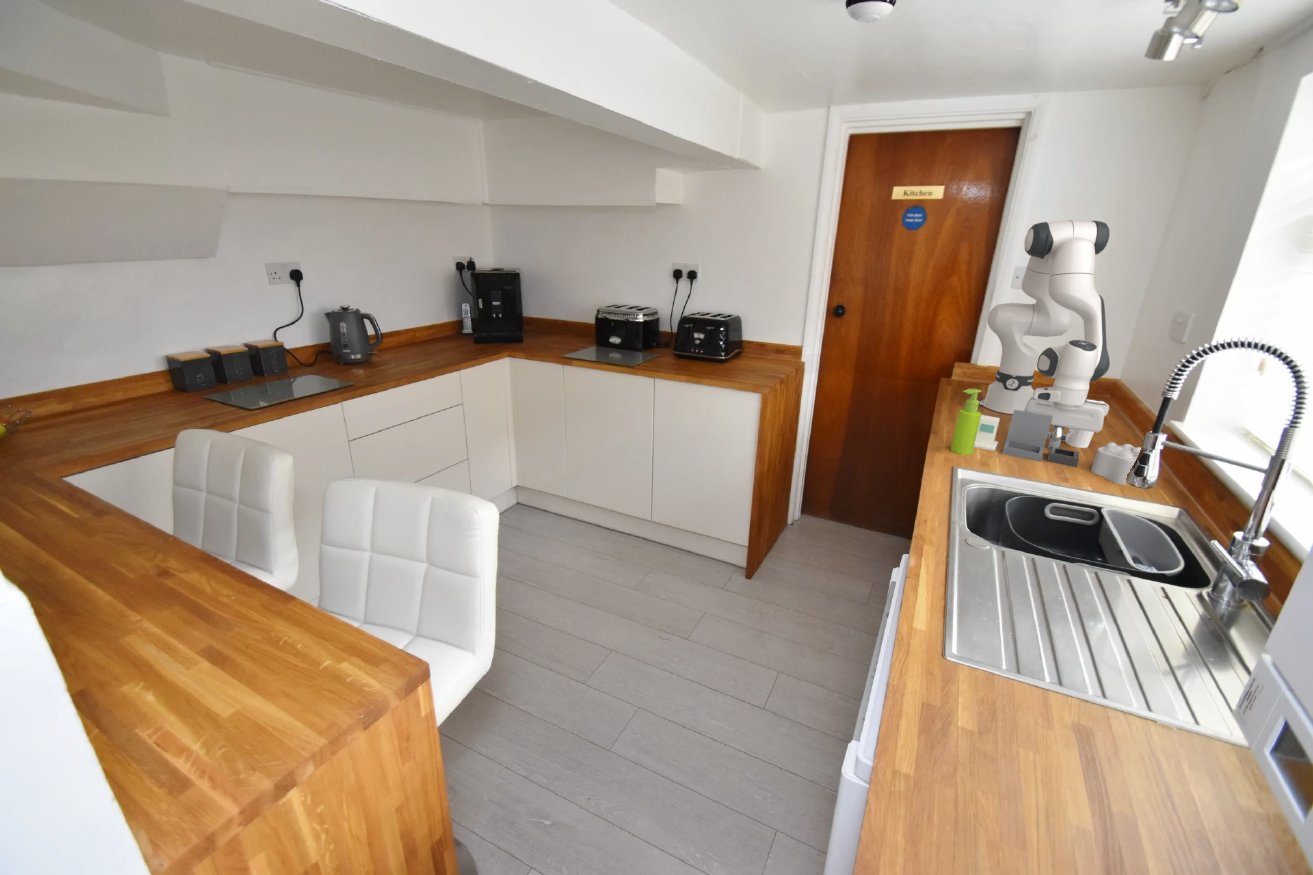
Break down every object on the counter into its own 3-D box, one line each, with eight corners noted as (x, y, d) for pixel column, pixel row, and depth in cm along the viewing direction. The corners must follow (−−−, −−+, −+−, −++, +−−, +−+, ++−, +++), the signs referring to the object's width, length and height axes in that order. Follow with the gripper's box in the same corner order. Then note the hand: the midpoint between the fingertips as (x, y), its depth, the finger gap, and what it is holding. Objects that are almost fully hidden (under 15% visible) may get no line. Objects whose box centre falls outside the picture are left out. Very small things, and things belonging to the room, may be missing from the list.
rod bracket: (1047, 455, 172) (1050, 446, 171) (1076, 461, 169) (1078, 451, 168) (1046, 463, 167) (1049, 453, 166) (1075, 468, 163) (1078, 459, 162)
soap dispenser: (943, 451, 174) (957, 387, 167) (959, 448, 177) (973, 385, 170) (959, 458, 169) (974, 393, 162) (976, 455, 172) (991, 391, 165)
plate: (972, 440, 184) (973, 436, 183) (997, 445, 180) (998, 441, 180) (968, 447, 178) (969, 443, 177) (994, 452, 174) (995, 449, 173)
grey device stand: (1004, 445, 180) (1014, 409, 175) (1042, 453, 174) (1052, 415, 170) (1001, 455, 172) (1011, 417, 168) (1040, 463, 167) (1051, 424, 162)
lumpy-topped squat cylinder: (1084, 472, 161) (1093, 443, 158) (1111, 465, 167) (1120, 437, 164) (1125, 487, 153) (1135, 457, 150) (1152, 479, 158) (1163, 450, 155)
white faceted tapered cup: (1066, 440, 185) (1072, 420, 183) (1091, 446, 181) (1098, 425, 178) (1060, 445, 181) (1067, 425, 178) (1087, 452, 176) (1093, 430, 174)
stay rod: (1047, 447, 179) (1054, 423, 176) (1058, 449, 177) (1065, 425, 174) (1047, 450, 177) (1054, 426, 174) (1058, 452, 175) (1065, 428, 172)
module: (976, 438, 182) (981, 414, 179) (994, 442, 179) (1000, 418, 176) (973, 443, 178) (979, 419, 175) (992, 447, 175) (998, 422, 172)
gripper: (1110, 400, 168) (1097, 443, 173) (1029, 388, 179) (1018, 429, 183) (1111, 405, 163) (1097, 450, 168) (1028, 392, 174) (1017, 435, 179)
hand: (1055, 439), depth 176 cm, fingers closed on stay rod, 3 cm apart
